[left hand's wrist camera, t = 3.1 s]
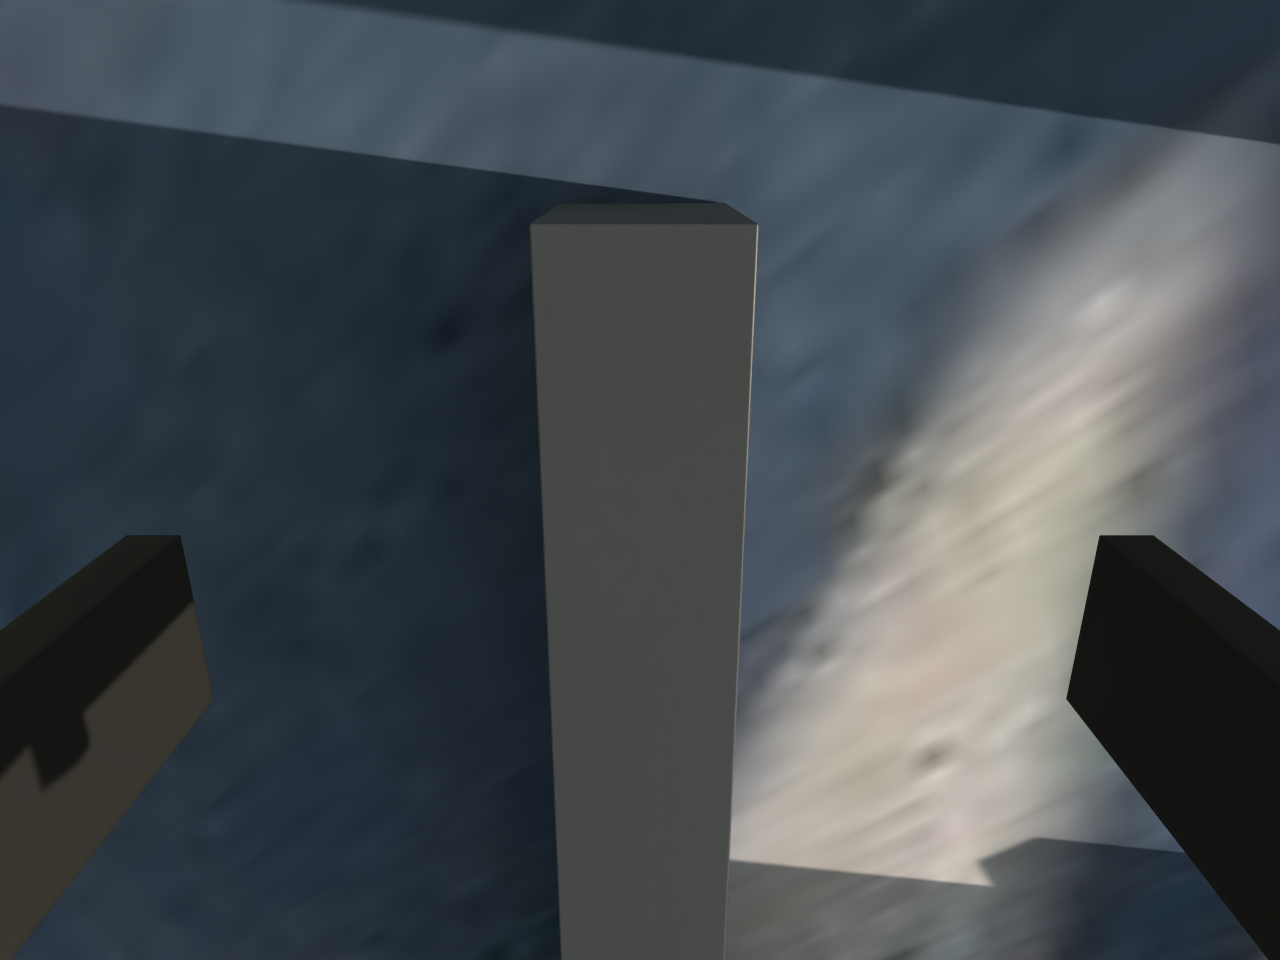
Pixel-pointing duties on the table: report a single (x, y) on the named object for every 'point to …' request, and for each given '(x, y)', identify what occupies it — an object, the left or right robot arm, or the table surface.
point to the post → (643, 561)
